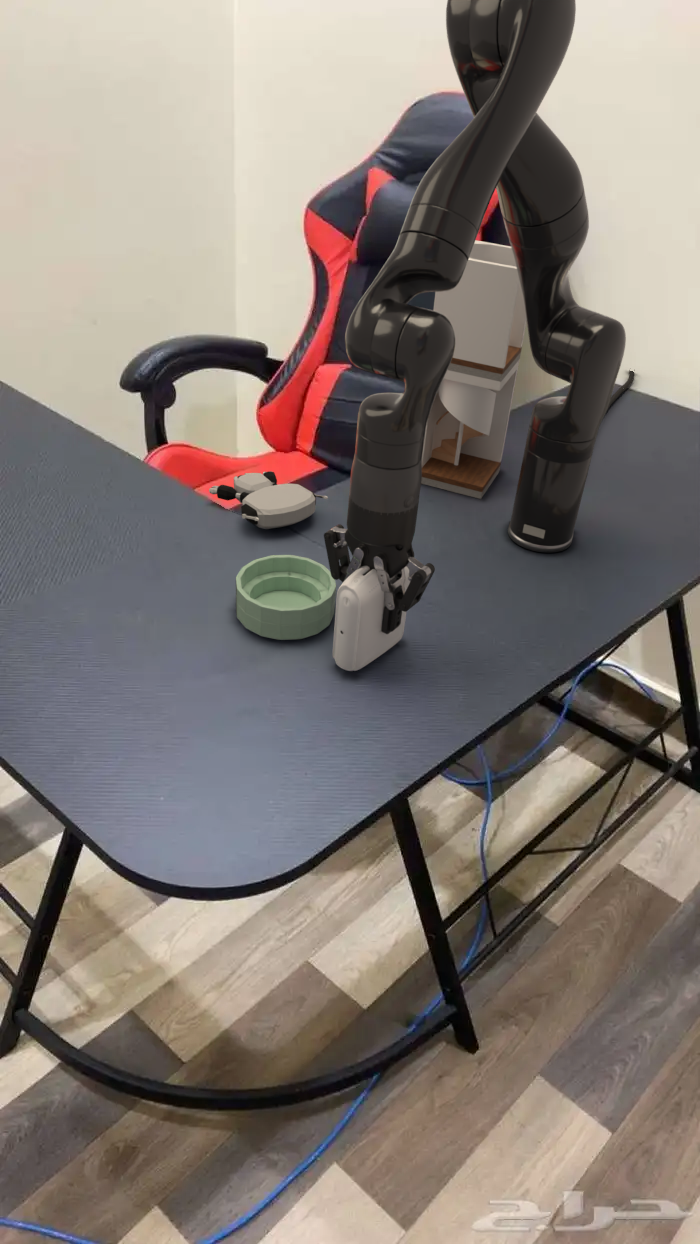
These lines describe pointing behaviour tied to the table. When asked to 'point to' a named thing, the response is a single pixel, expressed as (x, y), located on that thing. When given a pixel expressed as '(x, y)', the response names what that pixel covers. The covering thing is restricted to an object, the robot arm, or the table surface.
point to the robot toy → (269, 500)
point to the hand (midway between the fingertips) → (371, 621)
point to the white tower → (476, 374)
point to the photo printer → (362, 620)
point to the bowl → (285, 597)
